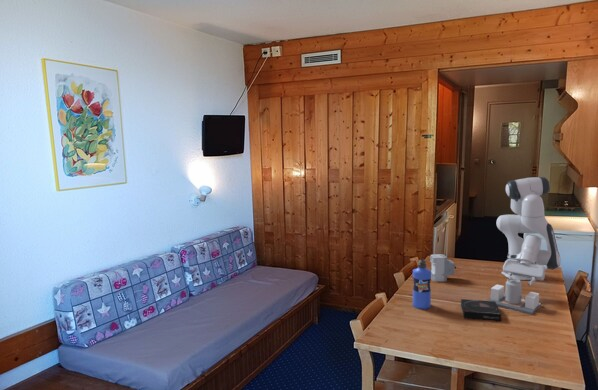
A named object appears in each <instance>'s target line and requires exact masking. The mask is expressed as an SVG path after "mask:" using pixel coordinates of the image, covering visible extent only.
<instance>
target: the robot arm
mask: <svg viewBox="0 0 598 390" xmlns="http://www.w3.org/2000/svg"><path fill="white" fill-rule="evenodd" d="M550 190H551V184H550V181H549V179H548V178H546V177H545V176H537V177H532V176H531V177H526V178H525V177H524V178H519V179H512V180H509V181H508V182H507V183H506V185H505V193H506V195H507V197H508V198H510V209H511V211H512V212H513V213H514V214H509V213H508V214H502V215H499V216H498V217H497V219H496V227H497V229H498V230H499V231H500V232H502V234H504V235H505V237H506V239H507V243H508V253H507V256H506V257H507V258H506V260H505V261H504V263H503V266H502V271H501V274H502V275H503V276H505V277H506V278H507V279H518V280H520V281H527V285H528V286H530V287H531V286H533V285H532V284H533V283H535V282H536V281H537V280H539V281H543V280H545V277H546V271H547V270H551V271H552V270H556V269H558V268H559V267H560V265H561V262H562V261H561V260H562V259H561V256H560V255H561V254H560V252H559V249H558V246H557V245H558V244H557V239H556V237H555V230H554V228H553V225H552V224H551V223H549V222H548V221H547V218H546V216H545V205H544V201H543V198H542V196H546V195H548V194H549V192H551V191H550ZM519 234H528V235H526V236H525V238H522V237H521V236H519ZM532 234H533V235H532ZM535 234H539V235H540V236H542V237H543V238H544V240H545V244H546V248H547V250H546V249H541V246H542V238H541V237H540V236H538V235H535Z"/></svg>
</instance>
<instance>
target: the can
mask: <svg viewBox="0 0 598 390" xmlns="http://www.w3.org/2000/svg"><path fill="white" fill-rule="evenodd" d="M522 289H523V283H522V280H518V279H509V278H507V279H506V281H505V289H504V295H505V300H506V301H507V302H508V303H510V304H519V303H521V299H522V295H523V290H522Z"/></svg>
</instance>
